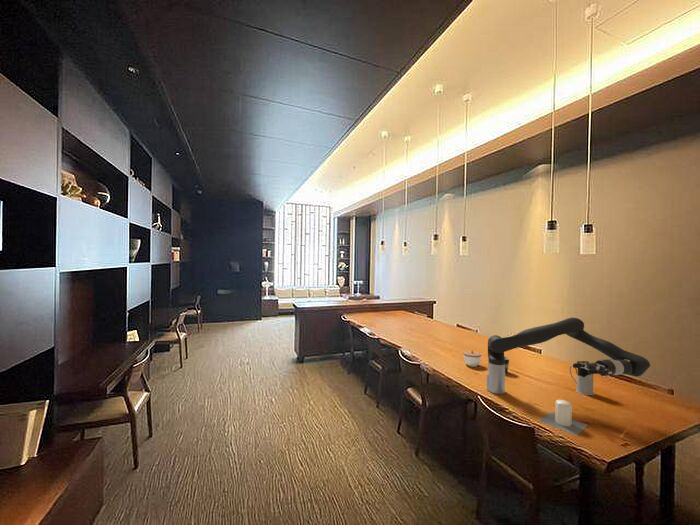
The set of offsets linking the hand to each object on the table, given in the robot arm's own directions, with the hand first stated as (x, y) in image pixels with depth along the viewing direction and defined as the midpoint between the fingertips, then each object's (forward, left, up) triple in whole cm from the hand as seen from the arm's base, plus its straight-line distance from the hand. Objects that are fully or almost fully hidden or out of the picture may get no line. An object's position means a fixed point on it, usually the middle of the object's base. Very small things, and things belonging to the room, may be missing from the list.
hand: (580, 368), depth 155 cm
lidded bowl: (-78, +34, -26) cm, 89 cm away
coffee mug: (-58, +37, -26) cm, 73 cm away
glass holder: (-12, +44, -26) cm, 52 cm away
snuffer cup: (-4, -10, -25) cm, 28 cm away
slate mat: (-4, -10, -26) cm, 28 cm away
